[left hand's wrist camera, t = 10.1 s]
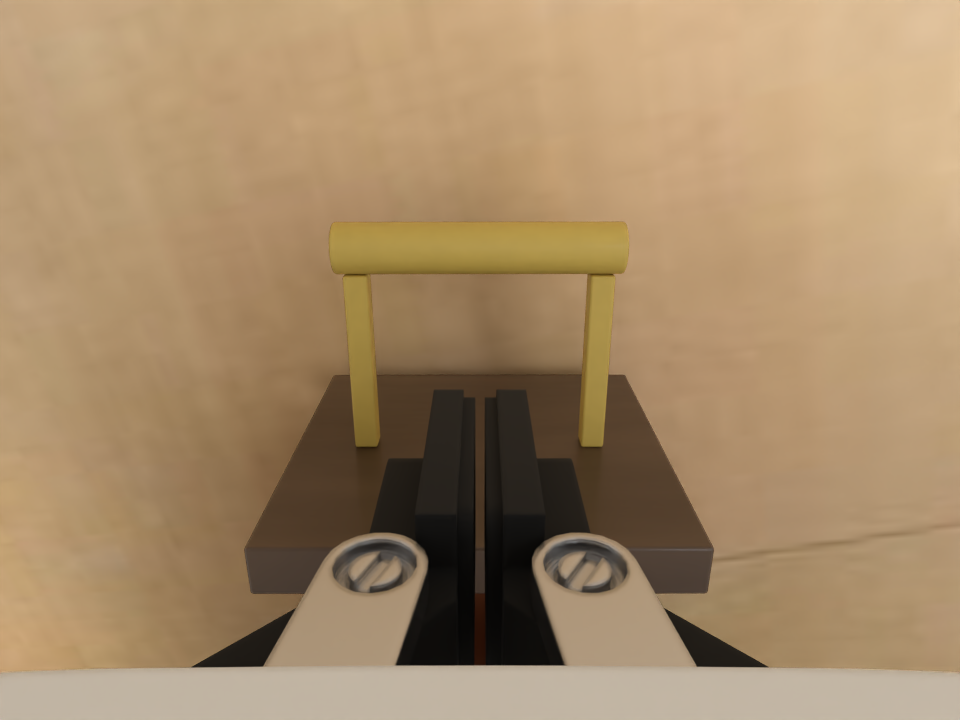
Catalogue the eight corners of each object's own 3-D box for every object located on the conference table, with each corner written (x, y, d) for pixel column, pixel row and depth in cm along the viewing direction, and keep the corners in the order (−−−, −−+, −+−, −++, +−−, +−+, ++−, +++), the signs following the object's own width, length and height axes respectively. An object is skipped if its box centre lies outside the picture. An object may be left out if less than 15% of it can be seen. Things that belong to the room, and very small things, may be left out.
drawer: (318, 194, 21) (199, 268, 12) (640, 194, 21) (757, 268, 12) (364, 738, 29) (315, 1017, 20) (595, 737, 29) (644, 1017, 20)
